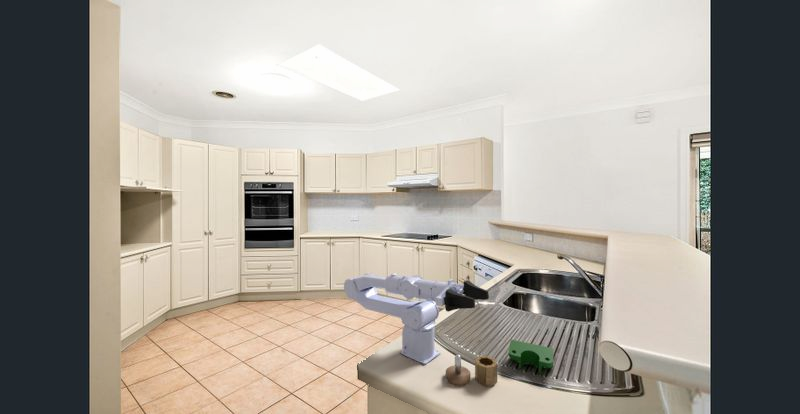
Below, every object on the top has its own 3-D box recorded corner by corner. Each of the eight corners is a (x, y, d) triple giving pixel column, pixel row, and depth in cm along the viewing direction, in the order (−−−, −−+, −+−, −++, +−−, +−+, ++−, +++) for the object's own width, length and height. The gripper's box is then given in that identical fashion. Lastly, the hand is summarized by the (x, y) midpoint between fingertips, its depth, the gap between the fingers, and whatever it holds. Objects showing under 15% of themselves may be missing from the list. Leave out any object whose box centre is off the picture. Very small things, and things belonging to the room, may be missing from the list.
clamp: (516, 382, 85) (501, 354, 85) (518, 366, 90) (505, 340, 90) (560, 379, 79) (545, 349, 78) (560, 362, 84) (546, 334, 83)
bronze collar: (472, 380, 79) (472, 362, 79) (481, 371, 83) (481, 353, 83) (491, 389, 76) (491, 369, 76) (499, 379, 80) (499, 360, 79)
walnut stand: (441, 378, 80) (441, 373, 80) (453, 367, 85) (453, 362, 85) (462, 389, 76) (462, 383, 76) (474, 377, 81) (474, 371, 81)
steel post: (453, 372, 80) (453, 355, 80) (456, 370, 82) (456, 352, 81) (459, 375, 79) (459, 357, 79) (462, 372, 80) (462, 354, 80)
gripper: (421, 283, 82) (466, 290, 73) (450, 272, 92) (492, 277, 83) (422, 309, 82) (468, 320, 73) (451, 295, 92) (494, 303, 83)
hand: (481, 299), depth 78 cm, fingers open, 7 cm apart
